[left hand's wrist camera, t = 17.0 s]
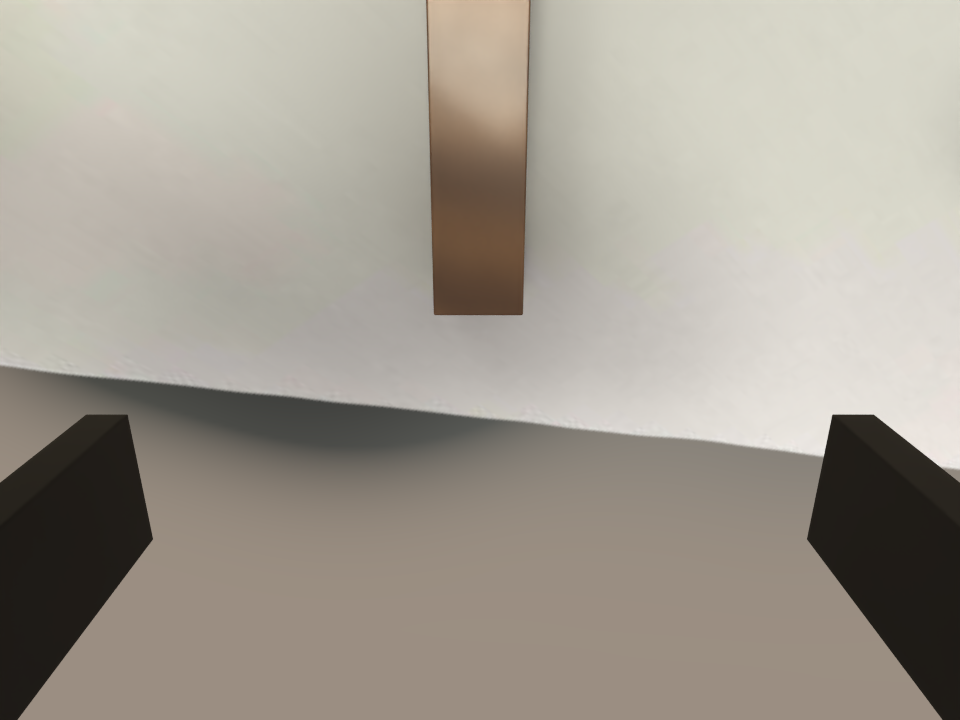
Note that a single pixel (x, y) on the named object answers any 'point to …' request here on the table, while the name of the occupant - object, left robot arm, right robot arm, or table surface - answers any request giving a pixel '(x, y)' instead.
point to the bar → (478, 153)
